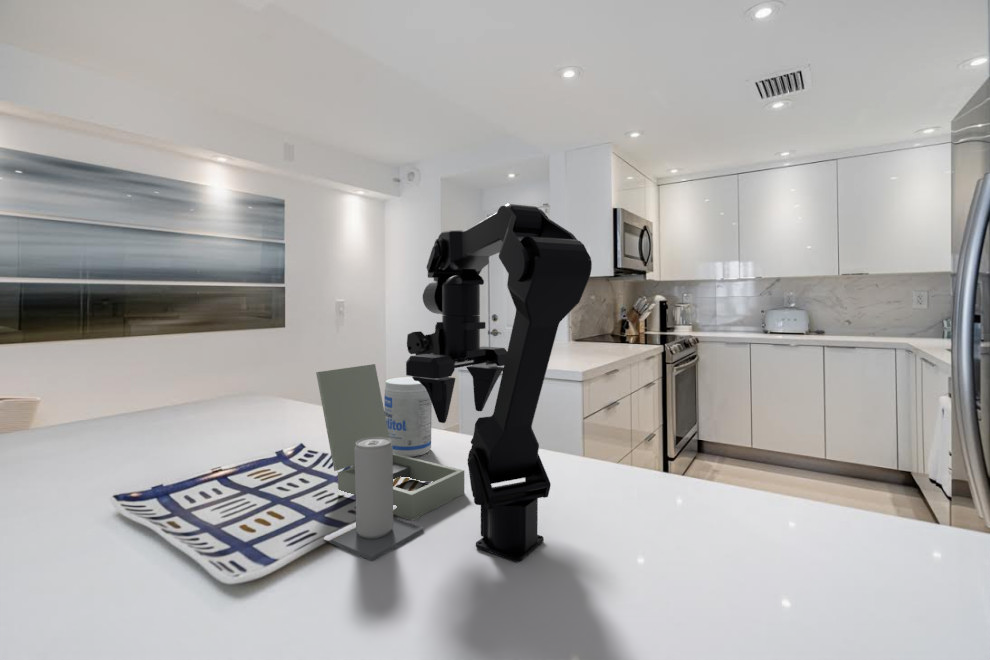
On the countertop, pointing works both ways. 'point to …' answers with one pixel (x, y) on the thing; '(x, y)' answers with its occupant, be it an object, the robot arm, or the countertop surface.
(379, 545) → the pad
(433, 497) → the case
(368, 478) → the beverage can
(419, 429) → the supplement tub
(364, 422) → the lid
